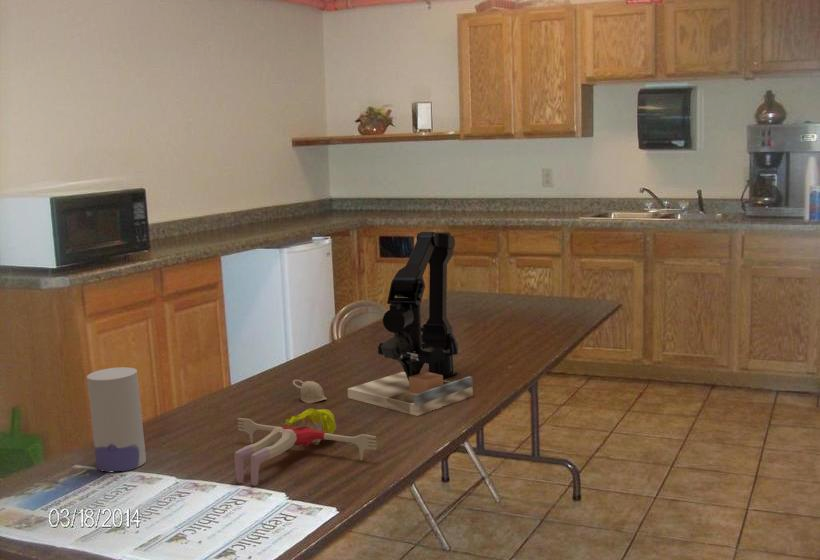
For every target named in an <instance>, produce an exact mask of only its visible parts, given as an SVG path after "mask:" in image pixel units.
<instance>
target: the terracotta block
mask: <svg viewBox="0 0 820 560" xmlns="http://www.w3.org/2000/svg"><path fill="white" fill-rule="evenodd" d="M443 380H444V379H443V375H439V374H434V373H430V372H429V371H423V372H420V373H419V374H416V375H413V376H410V377H409V390H410V393H414V394H418V393H421V392H424V391H427V390H430V389H433V388H436V387H439V386H442V385H443Z"/></svg>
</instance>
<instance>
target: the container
mask: <svg viewBox="0 0 820 560" xmlns="http://www.w3.org/2000/svg"><path fill="white" fill-rule="evenodd" d="M138 375H139V374H138V369H136V368H134V367H126V366H125V367H122V366H120V367H111V368H109V367H108V368H104V369H103V368H102V369H99V370H96V371H95V370H94V371H92V372H90V373H88V375H86V384H87V392H88V401H89V410H90V419H91V427H92V437H93V446H94V447H93V448H94V455H95V456H94V457H95V465H96V466H95V467H96V469H97V470H98V469H99V470H98V471H100V470H103V471H122V472H127V471H130V470H134V469H137V468H140V467H141V466H142V465H144V464H145V463H146V461H147V458H146V457H147V455H146V446H145V437H144V434H145V433H144V428H143V427H144V426H143V416H142V405H141V397H140V396H141V394H140V387H139V386H140V385H139V376H138Z"/></svg>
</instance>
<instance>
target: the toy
mask: <svg viewBox="0 0 820 560" xmlns="http://www.w3.org/2000/svg"><path fill="white" fill-rule="evenodd" d="M335 418H336V417H335V415H334V414H333V413H332V412H331V410H330V409H325V408H323V409H321V408H320V409H315V408H307V409H305V410H304V411H302V412H301V413H300V414H297V415H292V416H291V417H290V418H287V419H285V423H284V425H283V426H274V425H267V424H260V423H257V422H255V421H253V420H252V419H251V418H241V417H237V419H236V420H237V427H238V428H237V430H238V431H240V432H241V431H242V432H245V433H247V434H248V435H249V440H250V444H248V445H245V446H243V447H241V448H240V449H238V450H236V451H235V452H234V455H233V456H234V469H235V478H236V479H235V480H236V483H237V482H238V483H237V484H239V483H242V484H243V483H244V466H245V465H244V464H245V461H246V460H247V459H250V484H251V486H252V485H254V486H253V487H257V486H258V484H259V472H260V467H261V464H262V463H263V462H265V461H268V460H270V459H273V458H275V457H277V456H279V455H281V454H282V453H285V452H286V451H287V450H289V449H291V448H292V447H293V446H294V445H295V446H300V445H302V447H305V448H306V447H308V446H310V445H315V446H318V445H319V444H320V442H321V441H322V440H323V441H326V440H328V441H329V440H330V441H337V442H346V443H352V444H353V445H356V447H358V450H359V460H360V461H362V462H363V457H364V451H366V450H373V451H374V450H377V449H378V448H377V440H376V439H377V436H375V435H370V434H365V433H364V434H363V433H361V434H358V435H354V436H347V435H341V434H334V432H335V431H336V429H337V423H336V420H335ZM298 421H302V422H301V423H302V424H303V426H297V427H292V426H291V425H293V424H294V423H295V422H298ZM286 425H287V426H286ZM290 426H291V427H290ZM255 431H265V432H266V431H267V432H270V433H269V434H267V435H266V436H264V437H263V438H262V439H260V440H258V441H257V442H255V443H253V442H254V432H255ZM256 485H257V486H256Z"/></svg>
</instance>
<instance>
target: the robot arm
mask: <svg viewBox="0 0 820 560" xmlns="http://www.w3.org/2000/svg"><path fill="white" fill-rule="evenodd" d="M416 235H417V236H416V242H415V244H414V247H413V249H412V251H411V253H410V256H409V258H408V260H407V261H406V264H405V266H403V267H401V268H400V269H398V270H397V272H395V273H396V274H395V275H394V276H393V279H392V280H391V282H390V288H389V293H388V296H387V302H386V304H387V305H389V310H387V311H385V313H384V315H383V318H382V323H383V327H384V328H385V329H386V330H387V331H388V332H389V333H394V335H393V336H392V337H390V338H388V339H387V340H386V341H382V342H380V343H379V345H378V346H377V352H378V355H382V356H384V358H385V359H387V358H388V359H392V360H394V361H397V362H398V363H400V365H401V367H402V368H403V372H405V373H406V376H407V378H408V381H409V377H410V376H413V375H416V374H420V373H421V371H422V368H423V367H424V365H425V364H428V372H430V373H434V374H439V375H443V380H444V379H447V378H450V377H453V376H456V375H458V372H457V371H454V361H453V360H454V359H453V357H454V356H455V355H459V352H458V350H459V343H458V342H457V340H456V337H455V335H454V334H453V326H452V325H451V322H450V321H449V319H448V317H447V300H448V299H447V293H448V292H447V290H448V289H447V288H448V287H447V286H448V283H447V282H448V279H447V277H448V275H447V274H448V263H449V262H450V260H451V259H452V257H453V256H454V249H455V245H456V239H455V236H453V235H451V233H450V232H449V231H443V232H442V231H440V232H439V231H420V232H417V234H416ZM428 264H429V290H428V291H429V293H428V294H429V296H428V297H429V298H428V299H429V301H428V304H429V305H428V308H429V309H428V319H427V321H426V322H425V323H423V325H422V318H421V314H422V313H421V304H422V300H423V299H422V298H423V296H424V293H425V288H426V284H425V280H424V274H425V271H426V269H427V267H428Z"/></svg>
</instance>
